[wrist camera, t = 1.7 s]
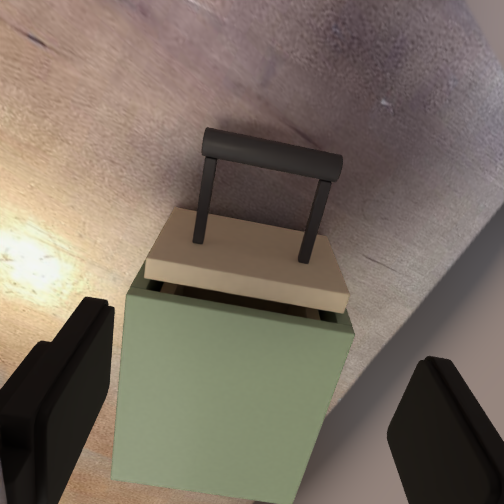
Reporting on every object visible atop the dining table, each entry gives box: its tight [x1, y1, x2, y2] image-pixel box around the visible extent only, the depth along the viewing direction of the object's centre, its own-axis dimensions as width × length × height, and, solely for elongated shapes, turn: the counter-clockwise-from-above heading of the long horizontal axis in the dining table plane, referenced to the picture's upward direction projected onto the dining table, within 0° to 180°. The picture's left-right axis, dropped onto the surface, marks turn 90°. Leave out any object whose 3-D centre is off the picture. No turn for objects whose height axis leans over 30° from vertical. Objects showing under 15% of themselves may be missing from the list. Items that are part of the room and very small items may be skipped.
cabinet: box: [111, 260, 355, 504], centre depth 28 cm, size 14×12×10 cm
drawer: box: [144, 127, 350, 321], centre depth 25 cm, size 19×10×8 cm, turn 169°
